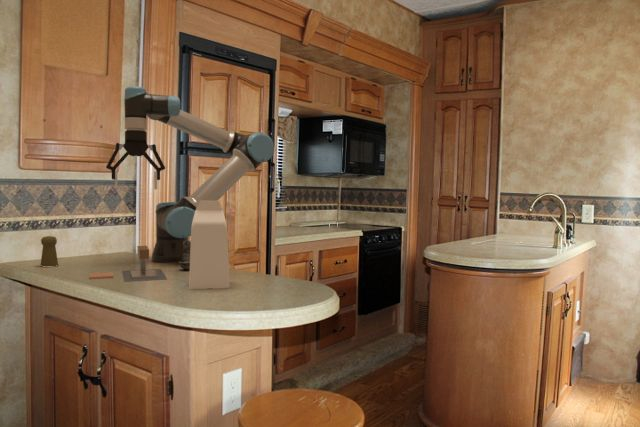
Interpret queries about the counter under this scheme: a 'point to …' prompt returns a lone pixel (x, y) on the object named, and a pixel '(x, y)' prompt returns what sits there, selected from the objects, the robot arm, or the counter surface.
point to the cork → (49, 251)
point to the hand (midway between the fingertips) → (136, 189)
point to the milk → (209, 247)
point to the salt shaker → (186, 255)
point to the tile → (101, 275)
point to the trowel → (143, 265)
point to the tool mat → (128, 278)
